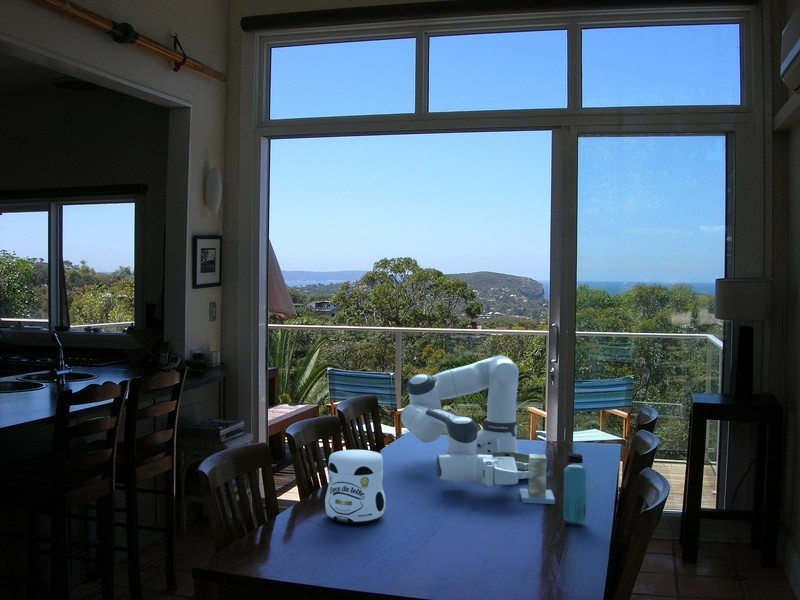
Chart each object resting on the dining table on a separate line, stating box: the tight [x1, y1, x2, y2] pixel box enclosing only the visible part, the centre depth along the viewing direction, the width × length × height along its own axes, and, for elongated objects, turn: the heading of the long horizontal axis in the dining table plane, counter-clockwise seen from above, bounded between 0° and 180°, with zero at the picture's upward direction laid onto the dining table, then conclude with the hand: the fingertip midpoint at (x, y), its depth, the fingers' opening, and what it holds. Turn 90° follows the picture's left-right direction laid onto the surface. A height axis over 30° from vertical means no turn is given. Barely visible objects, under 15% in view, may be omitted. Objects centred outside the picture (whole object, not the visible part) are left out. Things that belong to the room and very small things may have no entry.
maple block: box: [527, 453, 547, 497], centre depth 228 cm, size 5×5×12 cm
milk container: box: [324, 449, 387, 525], centre depth 206 cm, size 17×17×18 cm
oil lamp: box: [486, 452, 529, 472], centre depth 253 cm, size 22×30×8 cm
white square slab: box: [519, 488, 556, 505], centre depth 228 cm, size 10×10×2 cm
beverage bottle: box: [562, 452, 588, 524], centre depth 204 cm, size 6×7×20 cm
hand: (531, 470), depth 228 cm, fingers open, 8 cm apart
